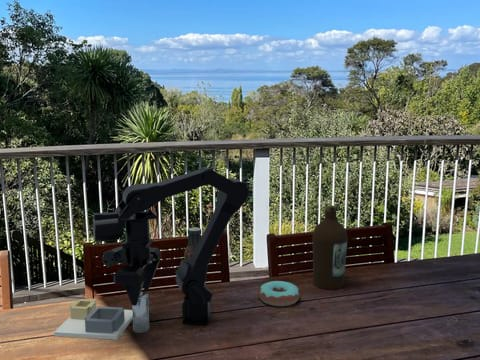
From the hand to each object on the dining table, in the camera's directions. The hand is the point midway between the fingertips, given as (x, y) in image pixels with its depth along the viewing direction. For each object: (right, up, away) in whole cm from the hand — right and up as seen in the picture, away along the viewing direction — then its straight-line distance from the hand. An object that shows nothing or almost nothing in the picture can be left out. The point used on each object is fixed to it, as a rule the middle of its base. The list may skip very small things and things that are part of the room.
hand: (140, 297), depth 117 cm
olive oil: (+53, -4, +30) cm, 61 cm away
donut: (+36, -6, +19) cm, 41 cm away
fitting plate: (-12, -8, +4) cm, 15 cm away
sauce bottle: (+11, -5, +23) cm, 26 cm away
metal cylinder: (0, -8, +1) cm, 9 cm away
